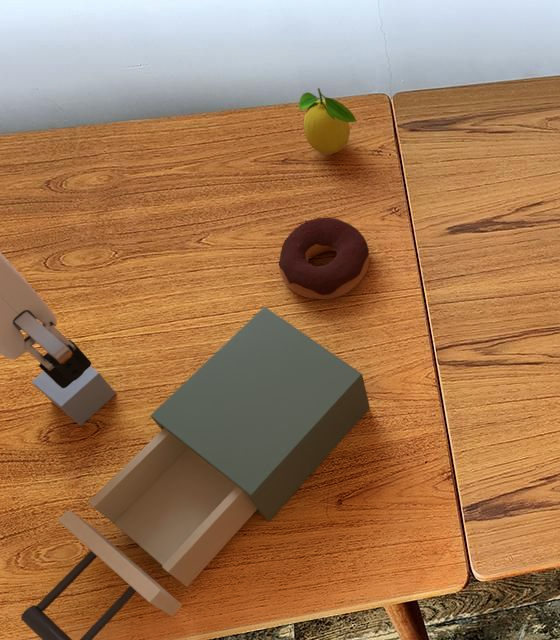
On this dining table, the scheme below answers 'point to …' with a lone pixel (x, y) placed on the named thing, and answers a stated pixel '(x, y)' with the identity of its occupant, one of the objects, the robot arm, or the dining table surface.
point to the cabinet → (266, 409)
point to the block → (77, 394)
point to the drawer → (154, 526)
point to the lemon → (325, 123)
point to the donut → (332, 276)
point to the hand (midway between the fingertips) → (40, 346)
